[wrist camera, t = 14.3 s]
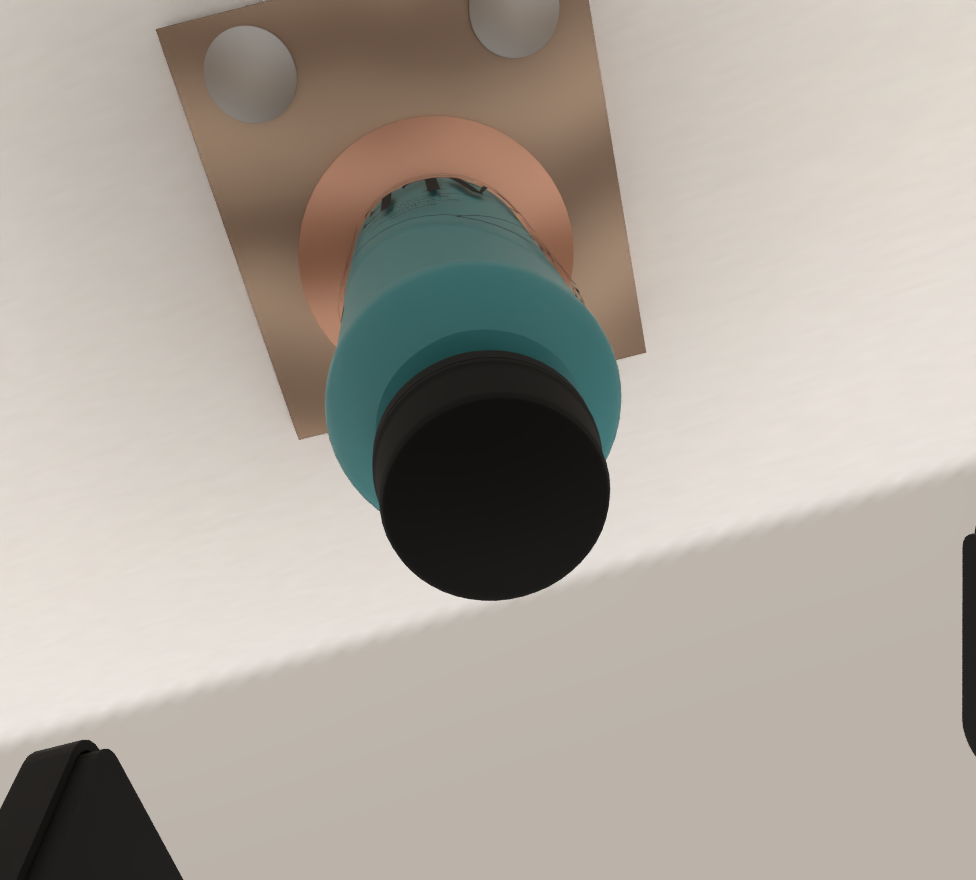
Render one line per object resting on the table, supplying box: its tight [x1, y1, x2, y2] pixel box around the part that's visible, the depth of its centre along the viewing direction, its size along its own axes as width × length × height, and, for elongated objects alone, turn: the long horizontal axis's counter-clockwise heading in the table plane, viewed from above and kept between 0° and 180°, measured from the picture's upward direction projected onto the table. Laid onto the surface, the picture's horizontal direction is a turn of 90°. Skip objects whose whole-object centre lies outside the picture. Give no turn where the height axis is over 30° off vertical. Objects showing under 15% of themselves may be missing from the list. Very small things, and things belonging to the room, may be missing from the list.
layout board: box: [156, 0, 646, 440], centre depth 33 cm, size 15×14×2 cm
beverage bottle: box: [325, 173, 621, 601], centre depth 24 cm, size 6×7×20 cm
